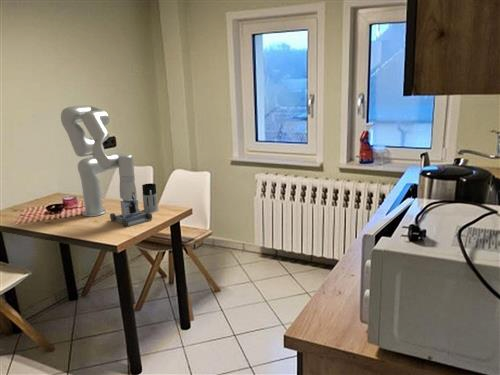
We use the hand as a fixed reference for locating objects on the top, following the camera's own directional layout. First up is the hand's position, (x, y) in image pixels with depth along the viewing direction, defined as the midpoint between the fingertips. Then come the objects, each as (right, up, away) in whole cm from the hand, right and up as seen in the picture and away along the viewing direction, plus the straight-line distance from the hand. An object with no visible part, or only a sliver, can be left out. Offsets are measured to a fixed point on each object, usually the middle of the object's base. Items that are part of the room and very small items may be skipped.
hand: (130, 211), depth 223 cm
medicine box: (0, -3, +1) cm, 3 cm away
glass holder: (+8, -1, +15) cm, 17 cm away
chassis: (0, -5, +1) cm, 5 cm away
